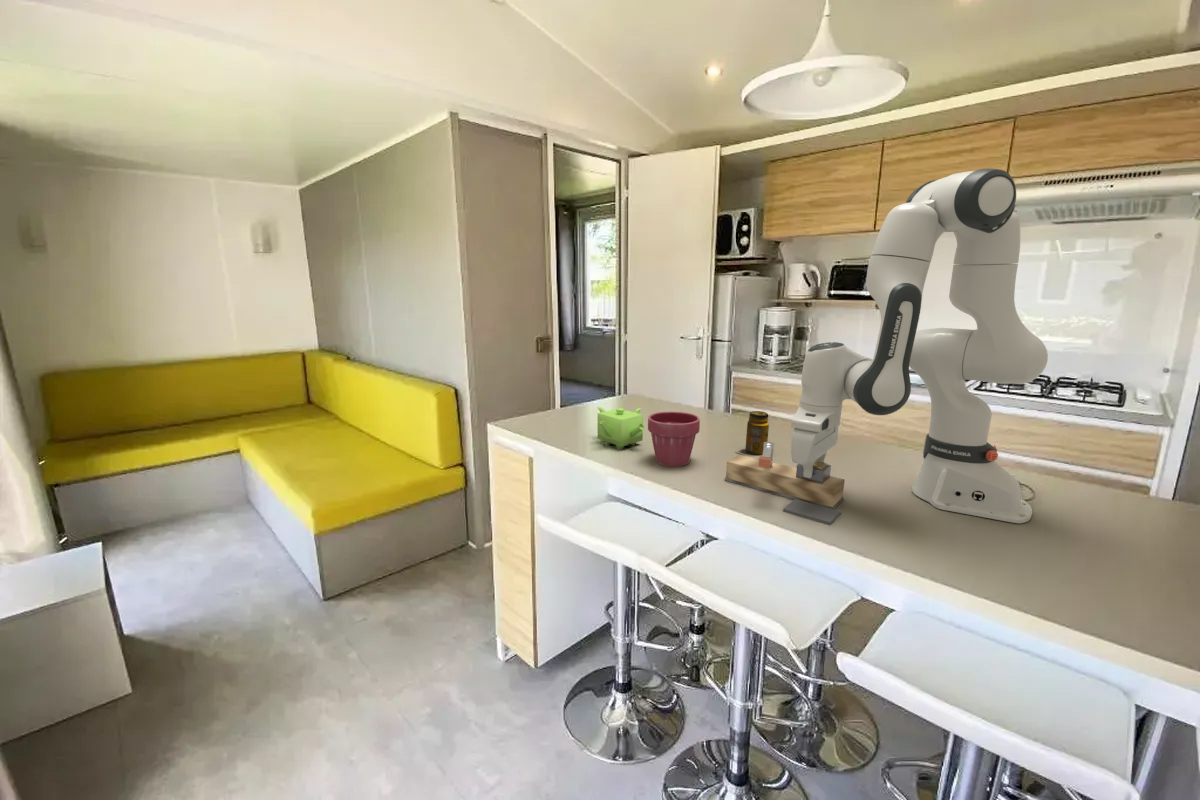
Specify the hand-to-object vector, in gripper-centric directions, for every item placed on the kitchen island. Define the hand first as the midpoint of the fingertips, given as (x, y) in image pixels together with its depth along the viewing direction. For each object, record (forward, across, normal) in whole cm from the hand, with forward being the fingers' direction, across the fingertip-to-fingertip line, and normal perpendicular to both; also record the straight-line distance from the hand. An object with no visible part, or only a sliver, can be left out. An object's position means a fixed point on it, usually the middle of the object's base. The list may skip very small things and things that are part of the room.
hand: (813, 472), depth 120 cm
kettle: (+6, -2, -59) cm, 59 cm away
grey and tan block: (+1, 0, 0) cm, 1 cm away
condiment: (+6, -22, -24) cm, 33 cm away
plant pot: (+6, 0, -38) cm, 39 cm away
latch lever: (+1, +5, -9) cm, 11 cm away
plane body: (+6, 0, -7) cm, 9 cm away
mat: (+6, +8, +3) cm, 10 cm away
